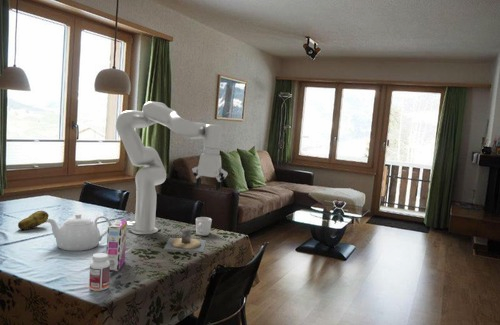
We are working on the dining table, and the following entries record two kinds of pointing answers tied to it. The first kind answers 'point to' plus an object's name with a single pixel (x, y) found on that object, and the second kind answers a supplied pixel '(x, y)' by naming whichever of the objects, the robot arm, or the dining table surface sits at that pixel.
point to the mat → (200, 249)
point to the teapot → (77, 233)
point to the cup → (203, 225)
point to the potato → (34, 220)
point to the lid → (185, 241)
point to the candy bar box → (116, 244)
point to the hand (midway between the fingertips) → (208, 188)
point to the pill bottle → (99, 272)
